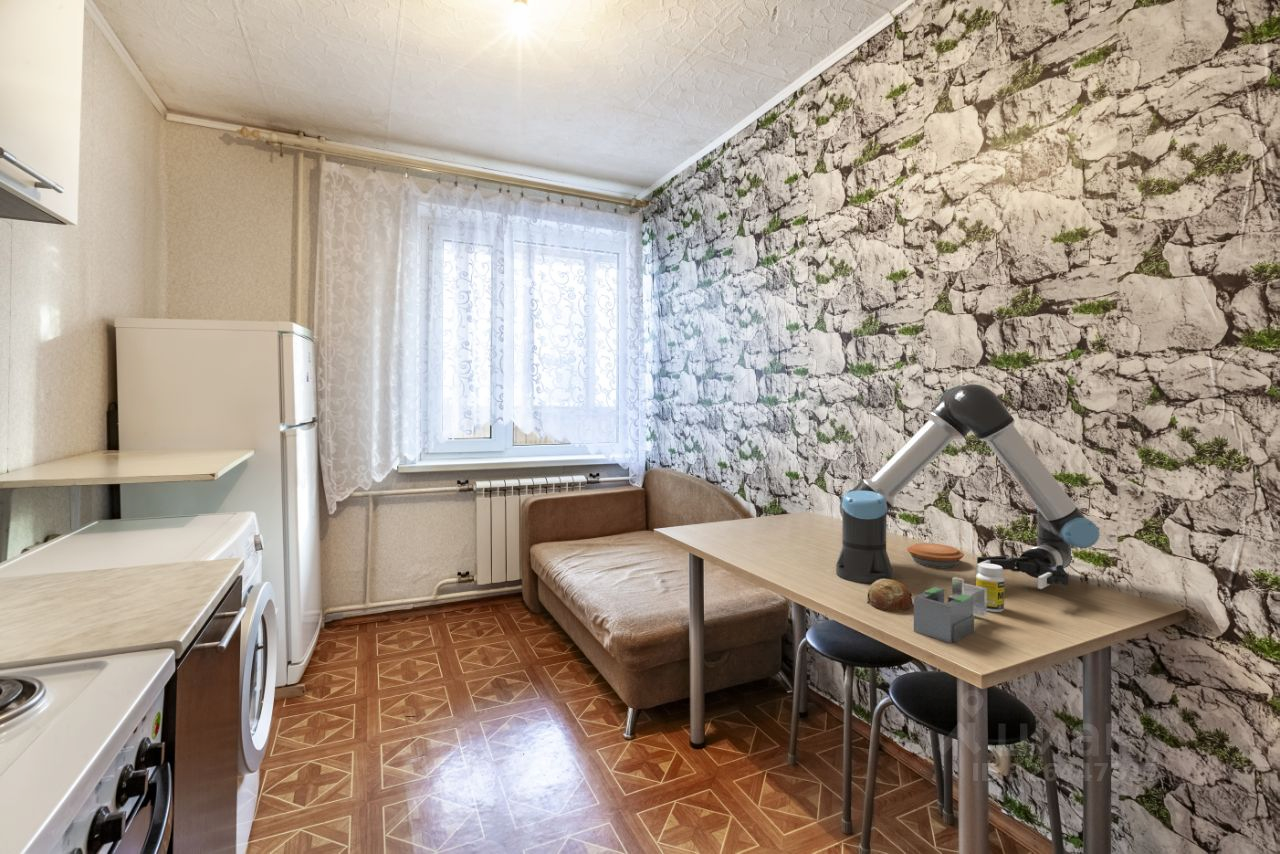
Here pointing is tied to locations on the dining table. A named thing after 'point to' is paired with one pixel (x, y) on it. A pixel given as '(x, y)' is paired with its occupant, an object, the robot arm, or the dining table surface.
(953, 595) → the plunger
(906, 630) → the dining table surface
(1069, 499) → the robot arm
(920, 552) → the pie
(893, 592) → the bread roll
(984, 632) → the dining table surface
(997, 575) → the supplement bottle
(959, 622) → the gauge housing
